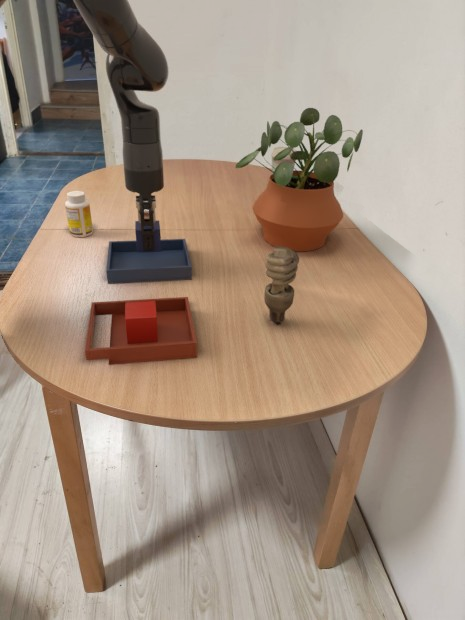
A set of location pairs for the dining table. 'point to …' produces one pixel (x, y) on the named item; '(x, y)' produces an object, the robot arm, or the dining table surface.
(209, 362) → the dining table surface
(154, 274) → the back tray
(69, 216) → the supplement bottle
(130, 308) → the red block
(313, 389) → the dining table surface
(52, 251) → the dining table surface
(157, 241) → the blue block
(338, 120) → the potted plant
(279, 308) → the light bulb
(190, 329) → the front tray
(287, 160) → the coffee cup
